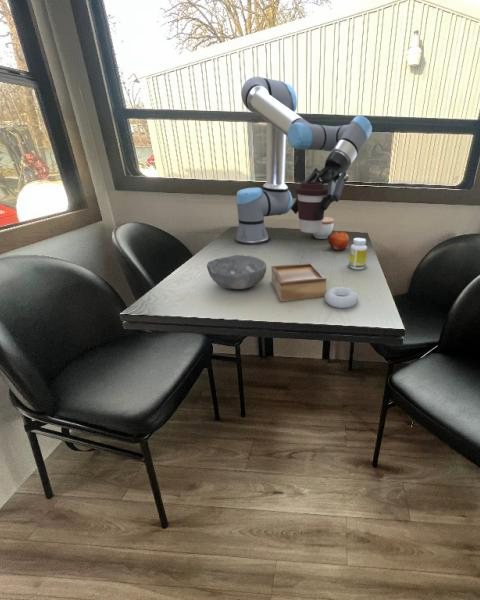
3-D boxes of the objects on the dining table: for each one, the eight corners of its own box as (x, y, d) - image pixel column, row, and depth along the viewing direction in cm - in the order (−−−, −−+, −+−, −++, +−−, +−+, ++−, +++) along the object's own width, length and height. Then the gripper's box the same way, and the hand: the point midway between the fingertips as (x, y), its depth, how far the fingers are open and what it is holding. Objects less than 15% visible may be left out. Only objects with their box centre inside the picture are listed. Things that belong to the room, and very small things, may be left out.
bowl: (276, 291, 93) (275, 267, 90) (219, 303, 85) (216, 277, 81) (255, 272, 107) (253, 250, 103) (204, 281, 98) (201, 258, 94)
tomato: (347, 252, 132) (348, 234, 128) (326, 250, 133) (327, 233, 129) (349, 246, 140) (350, 229, 136) (329, 244, 141) (330, 228, 137)
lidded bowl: (307, 233, 158) (308, 212, 153) (331, 233, 160) (332, 212, 155) (309, 240, 147) (310, 217, 142) (334, 240, 149) (336, 218, 144)
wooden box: (271, 283, 99) (271, 266, 96) (311, 279, 103) (312, 262, 100) (281, 301, 87) (280, 283, 84) (325, 296, 92) (326, 278, 89)
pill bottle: (366, 266, 117) (370, 238, 112) (362, 271, 112) (365, 242, 107) (352, 263, 119) (354, 236, 114) (346, 268, 114) (349, 240, 109)
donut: (353, 295, 93) (322, 294, 92) (355, 285, 92) (323, 284, 91) (360, 310, 84) (325, 310, 83) (361, 300, 83) (326, 299, 82)
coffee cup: (322, 235, 94) (324, 185, 87) (292, 233, 95) (292, 183, 88) (327, 228, 102) (330, 182, 95) (300, 226, 104) (300, 180, 97)
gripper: (372, 170, 93) (335, 227, 90) (321, 166, 107) (288, 215, 104) (363, 151, 87) (324, 211, 84) (311, 149, 101) (275, 200, 98)
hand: (304, 213), depth 94 cm, fingers closed on coffee cup, 10 cm apart
